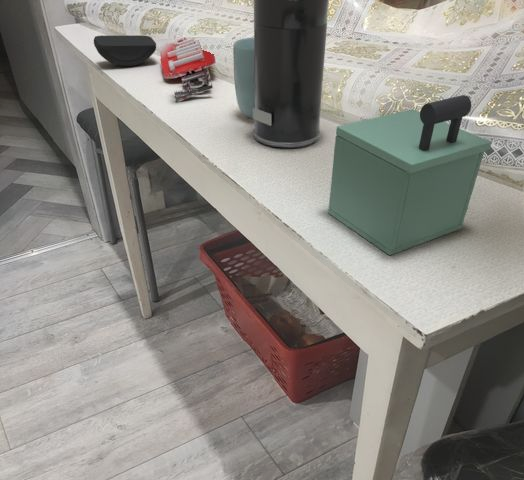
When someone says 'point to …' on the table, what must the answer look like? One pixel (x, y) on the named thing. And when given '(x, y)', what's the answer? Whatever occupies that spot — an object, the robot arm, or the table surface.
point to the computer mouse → (125, 49)
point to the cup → (244, 75)
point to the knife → (202, 78)
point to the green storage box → (399, 197)
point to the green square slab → (418, 135)
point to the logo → (187, 65)
